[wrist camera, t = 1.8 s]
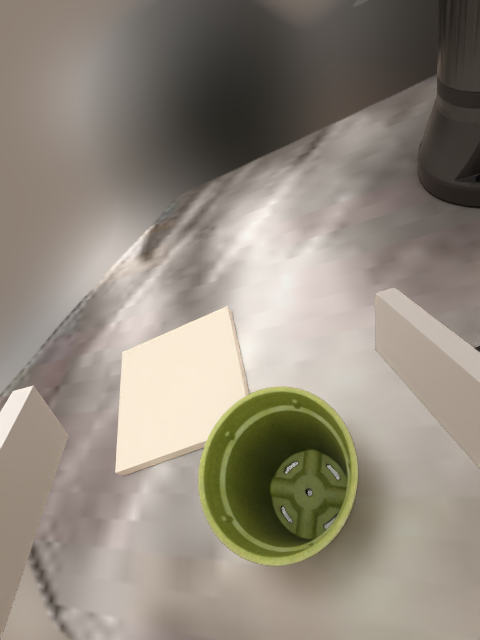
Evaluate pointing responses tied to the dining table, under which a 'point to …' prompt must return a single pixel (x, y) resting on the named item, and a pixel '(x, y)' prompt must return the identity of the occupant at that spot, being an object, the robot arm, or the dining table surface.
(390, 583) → the dining table surface
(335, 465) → the plant pot
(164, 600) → the dining table surface
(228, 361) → the tile
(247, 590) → the dining table surface
